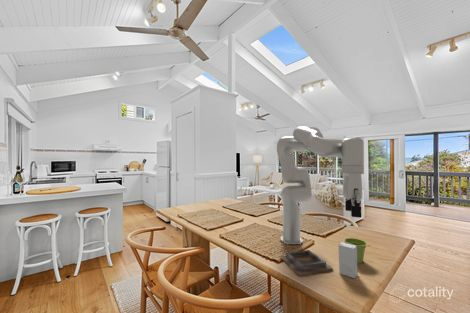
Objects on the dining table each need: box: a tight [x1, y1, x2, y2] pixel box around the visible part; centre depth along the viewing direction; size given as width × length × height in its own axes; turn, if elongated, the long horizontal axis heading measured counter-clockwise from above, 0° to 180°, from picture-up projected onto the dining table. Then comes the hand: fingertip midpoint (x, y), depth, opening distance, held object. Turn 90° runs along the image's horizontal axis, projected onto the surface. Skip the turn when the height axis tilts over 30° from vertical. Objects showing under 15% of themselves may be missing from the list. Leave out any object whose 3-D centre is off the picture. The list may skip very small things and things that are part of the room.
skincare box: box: [338, 241, 359, 279], centre depth 87 cm, size 6×4×12 cm
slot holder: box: [280, 249, 334, 277], centre depth 96 cm, size 16×16×3 cm
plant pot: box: [343, 237, 368, 264], centre depth 100 cm, size 9×9×9 cm
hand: (352, 213), depth 83 cm, fingers open, 9 cm apart
